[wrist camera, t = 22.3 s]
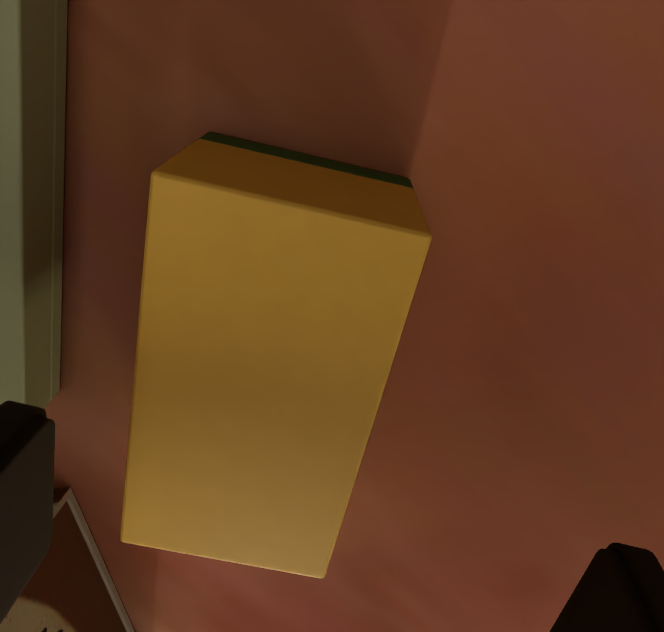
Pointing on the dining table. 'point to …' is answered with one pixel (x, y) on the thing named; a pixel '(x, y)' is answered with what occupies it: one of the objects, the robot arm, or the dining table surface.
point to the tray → (31, 197)
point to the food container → (69, 582)
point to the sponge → (263, 348)
